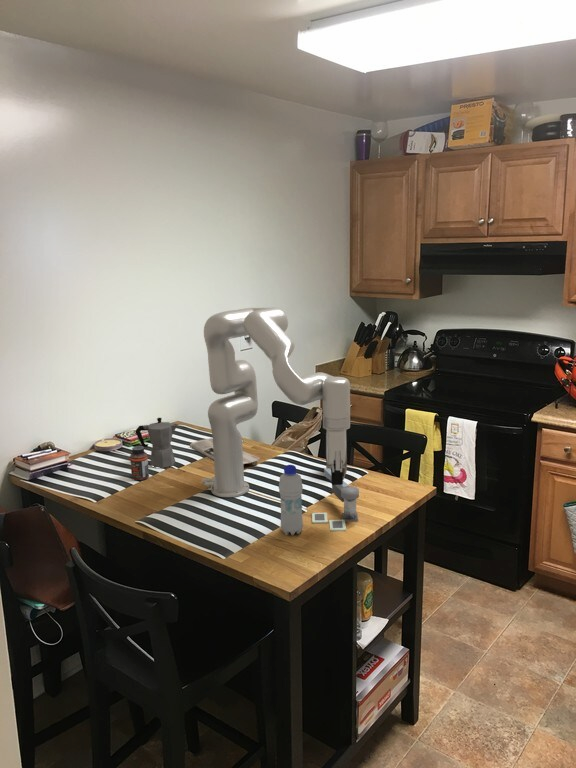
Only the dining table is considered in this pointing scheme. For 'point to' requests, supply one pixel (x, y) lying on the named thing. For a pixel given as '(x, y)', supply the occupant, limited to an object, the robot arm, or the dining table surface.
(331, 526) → the label tile
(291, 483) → the bottle
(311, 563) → the dining table surface
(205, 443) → the newspaper
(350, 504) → the post
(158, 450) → the coffeepot
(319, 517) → the label tile
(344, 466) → the coffee box
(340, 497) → the bar
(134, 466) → the supplement bottle
